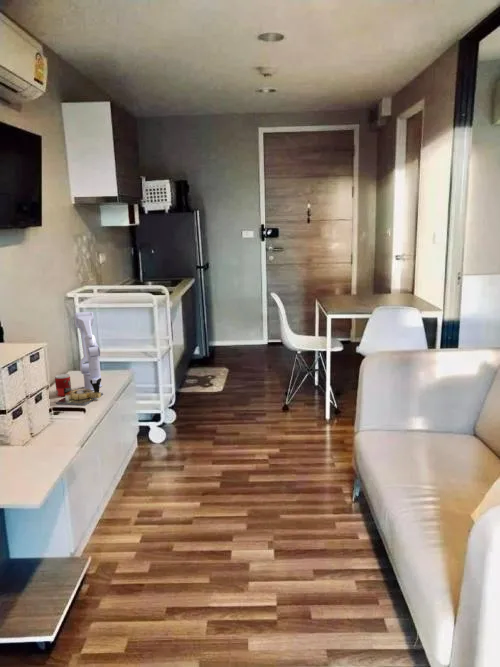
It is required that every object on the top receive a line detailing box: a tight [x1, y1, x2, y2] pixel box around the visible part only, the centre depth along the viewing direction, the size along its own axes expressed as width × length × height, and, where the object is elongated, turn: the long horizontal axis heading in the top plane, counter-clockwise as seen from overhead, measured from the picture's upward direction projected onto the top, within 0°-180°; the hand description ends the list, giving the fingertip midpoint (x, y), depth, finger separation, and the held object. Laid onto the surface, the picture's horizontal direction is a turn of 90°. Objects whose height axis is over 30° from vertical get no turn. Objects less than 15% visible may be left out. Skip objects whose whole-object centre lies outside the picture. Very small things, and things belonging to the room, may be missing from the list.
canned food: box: [54, 373, 72, 398], centre depth 278 cm, size 8×8×11 cm
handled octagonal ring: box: [69, 388, 102, 400], centre depth 270 cm, size 17×11×2 cm, turn 75°
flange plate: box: [55, 389, 104, 406], centre depth 270 cm, size 18×17×4 cm
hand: (96, 392), depth 275 cm, fingers closed
